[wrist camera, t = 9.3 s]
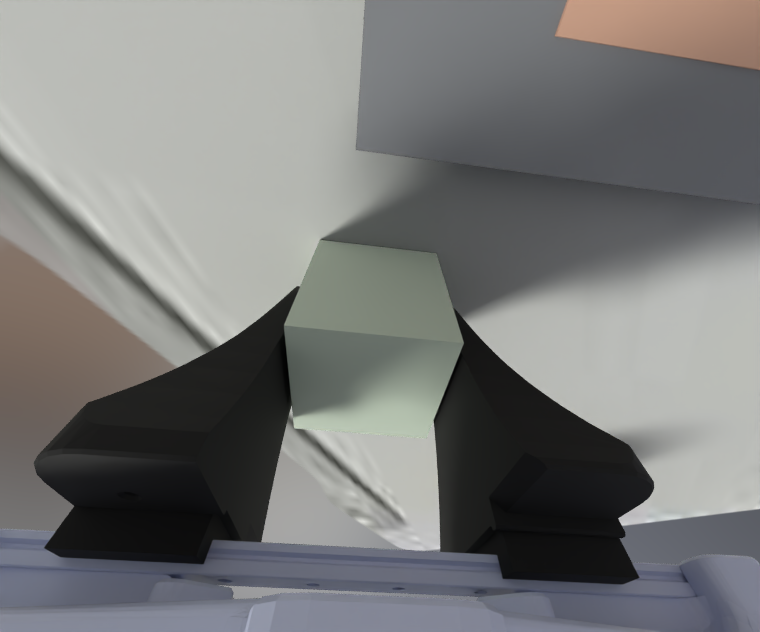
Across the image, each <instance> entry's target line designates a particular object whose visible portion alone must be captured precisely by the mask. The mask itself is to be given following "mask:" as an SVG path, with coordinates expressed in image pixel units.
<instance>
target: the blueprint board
mask: <svg viewBox="0 0 760 632" xmlns="http://www.w3.org/2000/svg"><path fill="white" fill-rule="evenodd" d="M356 150H361V151H368V152H376V153H383V154H390V155H398V156H405V157H412V158H420V159H427V160H435V161H442V162H449V163H457V164H464V165H471V166H479V167H486V168H493V169H501V170H508V171H516V172H523V173H530V174H538V175H545V176H552V177H560V178H567V179H574V180H582V181H589V182H597V183H604V184H611V185H619V186H626V187H633V188H641V189H648V190H655V191H663V192H670V193H678V194H685V195H692V196H700V197H707V198H714V199H722V200H729V201H736V202H744V203H751V204H759V205H760V0H365V10H364V26H363V43H362V59H361V75H360V92H359V108H358V124H357V140H356Z"/></svg>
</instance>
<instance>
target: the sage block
mask: <svg viewBox="0 0 760 632" xmlns="http://www.w3.org/2000/svg"><path fill="white" fill-rule="evenodd" d="M284 332H285V342H286V352H287V362H288V371H289V381H290V391H291V401H292V411H293V421H294V428H296V429H309V430H322V431H335V432H348V433H361V434H374V435H387V436H400V437H413V438H427V435H428V433H429V430H430V428H431V425H432V423H433V420H434V418H435V415H436V413H437V410H438V407H439V405H440V402H441V400H442V397H443V395H444V392H445V390H446V387H447V385H448V382H449V380H450V377H451V374H452V372H453V369H454V367H455V364H456V362H457V359H458V357H459V354H460V352H461V349H462V347H463V344H464V342H463V339H462V335H461V332H460V329H459V326H458V322H457V319H456V316H455V313H454V309H453V306H452V303H451V299H450V296H449V293H448V290H447V286H446V283H445V280H444V277H443V273H442V270H441V267H440V264H439V260H438V257H437V254H436V253H429V252H421V251H412V250H403V249H395V248H386V247H378V246H369V245H360V244H352V243H343V242H335V241H326V240H320V241H319V243H318V246H317V248H316V250H315V253H314V255H313V257H312V260H311V262H310V265H309V267H308V269H307V272H306V274H305V276H304V279H303V281H302V284H301V286H300V288H299V291H298V293H297V295H296V298H295V300H294V303H293V305H292V307H291V310H290V312H289V314H288V317H287V319H286V322H285V324H284Z"/></svg>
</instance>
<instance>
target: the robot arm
mask: <svg viewBox="0 0 760 632" xmlns="http://www.w3.org/2000/svg"><path fill="white" fill-rule="evenodd" d="M299 288H300V287H299V286H297V287H296V288H294V289H293V290H292V291H291V292H290V293H289V294H288V295H287V296H285V297H284V298H283V299H282V300H281V301H280V302H279V303H278V304H276V305H275V306H274V307H273V308H272V309H271V310H269V311H268V312H267V313H266V314H265V315H263V316H262V317H261V318H260V319H258V320H257V321H256V322H254V323H253V324H252V325H250V326H249V327H248V328H246V329H245V330H244V331H242V332H241V333H239V334H238V335H236V336H235V337H233V338H232V339H230V340H229V341H227V342H225V343H224V344H222V345H220V346H219V347H217V348H215V349H214V350H212V351H210V352H208V353H206V354H204V355H202V356H200V357H198V358H196V359H194V360H192V361H191V362H189V363H187V364H185V365H183V366H180V367H178V368H176V369H174V370H172V371H170V372H167V373H165V374H163V375H160V376H158V377H156V378H153V379H151V380H149V381H146V382H144V383H141V384H138V385H136V386H133V387H130V388H128V389H125V390H122V391H119V392H117V393H114V394H111V395H108V396H106V397H103V398H100V399H97V400H94V401H92V402H88V403H87V404H86V405H85V406H84V407H83V408H82V409H81V410H80V411H79V412H78V413H77V415H75V416H74V418H73V419H72V420H71V421H70V422H69V423H68V424H67V425H66V426H65V427H64V428H63V429H62V430H61V431H60V433H59V434H58V435H57V436H56V437H55V438H54V439H53V440H52V441H51V442H50V443H49V444H48V445H47V446H46V448H44V449H43V451H42V452H41V453H40V454H39V455H38V456H37V458H36V460H35V461H34V466H35V469H36V473H37V475H38V476H39V477H40V478H41V479H42V480H43V481H44V482H45V483H46V484H47V485H49V486H50V487H51V488H52V489H54V490H55V491H56V492H57V493H59V494H60V495H61V496H63V497H64V498H65V499H66V500H68V501H69V502H70V503H71V504H73V505H74V508H73V509H72V510H71V512H70V513H69V515H68V516H67V517H66V518H65V520H64V521H63V522H62V524H61V525H60V527H59V528H58V529H57V531H38V530H21V529H2V528H1V529H0V632H760V565H759V563H758V562H757V560H756V559H754V558H752V557H750V556H733V555H715V554H710V555H709V554H708V555H700V556H695V557H691V558H689V559H686V560H684V561H682V562H681V563H680V564H679V565H676V564H657V563H638V562H631V560H630V558H629V556H628V554H627V552H626V550H625V548H624V546H623V545H622V543H621V541H620V539H619V538H623V537H625V531H624V529H623V527H622V525H621V523H620V522H619V520H618V518H619V517H621V516H623V515H624V514H626V513H627V512H629V511H631V510H632V509H634V508H635V507H637V506H639V505H640V504H642V503H643V502H644V501H645V500H647V499H648V498H649V497H650V495H651V494H652V492H653V490H654V481H653V480H652V478H651V477H650V476H649V474H648V473H647V471H646V470H645V468H644V467H643V465H642V464H641V462H640V461H639V459H638V458H637V456H636V455H635V453H634V452H633V450H632V449H631V447H630V446H629V445H628V444H626V443H624V442H622V441H620V440H619V439H617V438H615V437H613V436H611V435H610V434H608V433H606V432H604V431H602V430H601V429H599V428H597V427H595V426H593V425H592V424H590V423H588V422H586V421H585V420H583V419H581V418H580V417H578V416H577V415H575V414H573V413H572V412H570V411H569V410H567V409H565V408H564V407H562V406H561V405H559V404H558V403H556V402H555V401H553V400H552V399H550V398H549V397H548V396H546V395H545V394H543V393H542V392H541V391H539V390H538V389H537V388H535V387H534V386H533V385H531V384H530V383H529V382H527V381H526V380H525V379H523V378H522V377H521V376H520V375H519V374H517V373H516V372H515V371H514V370H513V369H512V368H510V367H509V366H508V365H507V364H506V363H505V362H504V361H502V360H501V359H500V358H499V357H498V356H497V355H496V354H495V353H494V352H493V351H492V350H491V349H490V348H489V347H488V346H487V345H486V344H485V343H484V342H483V341H482V340H481V339H480V337H479V336H478V335H477V334H476V333H475V332H474V331H473V330H472V329H471V327H470V326H469V325H468V324H467V323H466V322H465V320H464V319H463V318H462V317H461V316H460V314H459V313H458V312H457V311H456V310H455V309H454V307H453V309H454V313H455V316H456V319H457V322H458V326H459V329H460V332H461V335H462V339H463V342H464V344H463V347H462V349H461V352H460V354H459V357H458V359H457V362H456V364H455V367H454V369H453V372H452V374H451V377H450V380H449V382H448V385H447V387H446V390H445V392H444V395H443V397H442V400H441V402H440V405H439V407H438V410H437V413H436V415H435V418H434V428H435V440H436V453H437V469H438V487H439V509H440V552H433V551H414V550H395V549H377V548H356V547H338V546H320V545H302V544H301V545H300V544H282V543H263V542H261V540H262V535H263V530H264V525H265V519H266V515H267V510H268V505H269V499H270V495H271V490H272V486H273V481H274V476H275V471H276V467H277V462H278V458H279V454H280V449H281V445H282V441H283V436H284V432H285V428H286V424H287V420H288V416H289V412H290V409H291V406H292V401H291V391H290V381H289V371H288V362H287V352H286V342H285V332H284V324H285V322H286V319H287V317H288V314H289V312H290V310H291V307H292V305H293V303H294V300H295V298H296V295H297V293H298V291H299ZM218 585H226V586H249V587H272V588H295V589H317V590H339V591H362V592H385V593H408V594H429V595H452V596H475V597H478V599H477V601H471V600H462V599H447V598H425V597H402V596H400V597H399V596H378V595H356V594H355V595H354V594H333V593H280V594H275V595H270V596H264V597H262V598H253V599H234V598H233V591H232V589H231V588H229V587H224V586H218Z"/></svg>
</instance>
